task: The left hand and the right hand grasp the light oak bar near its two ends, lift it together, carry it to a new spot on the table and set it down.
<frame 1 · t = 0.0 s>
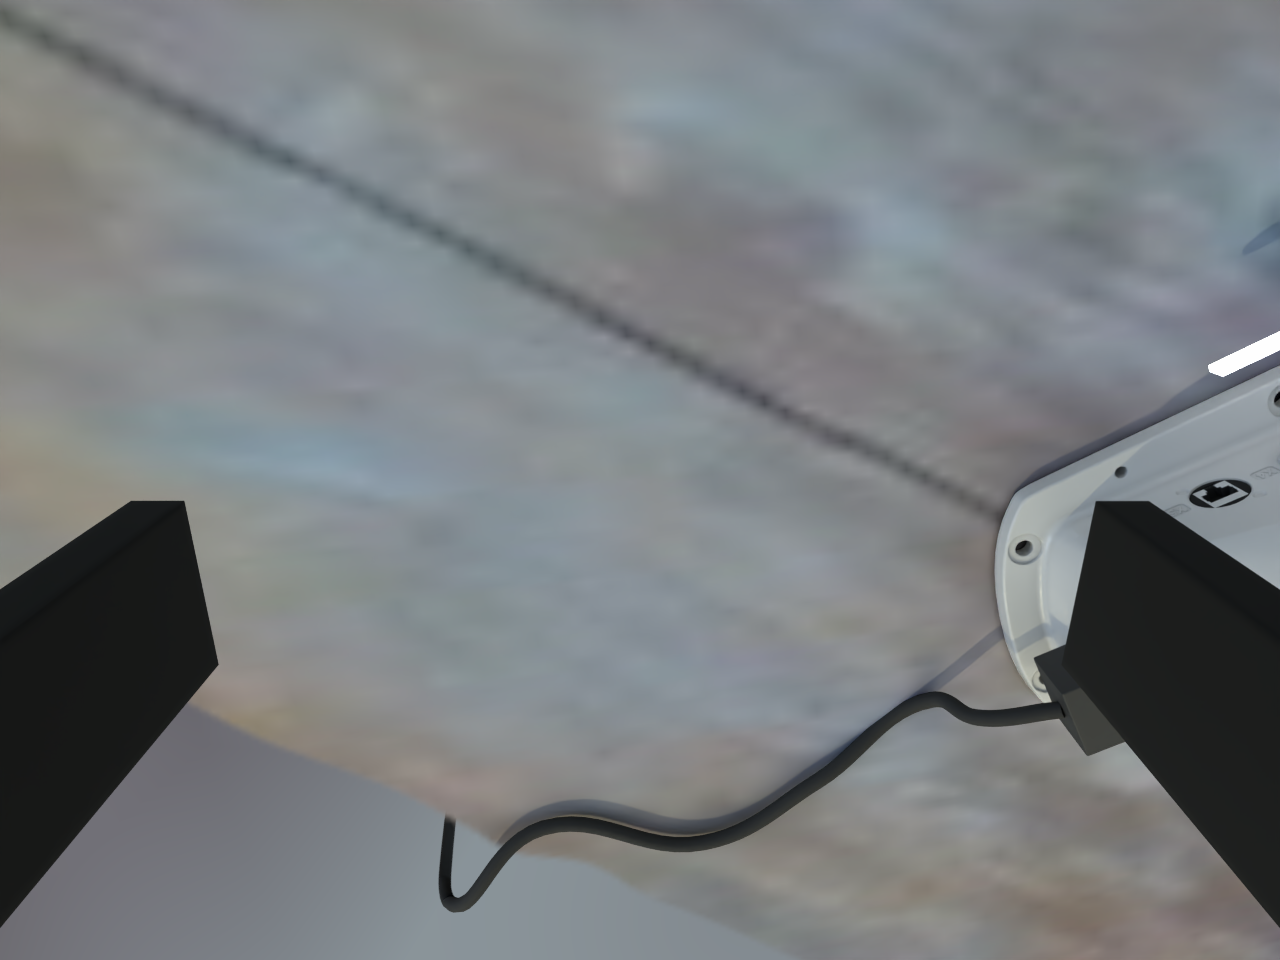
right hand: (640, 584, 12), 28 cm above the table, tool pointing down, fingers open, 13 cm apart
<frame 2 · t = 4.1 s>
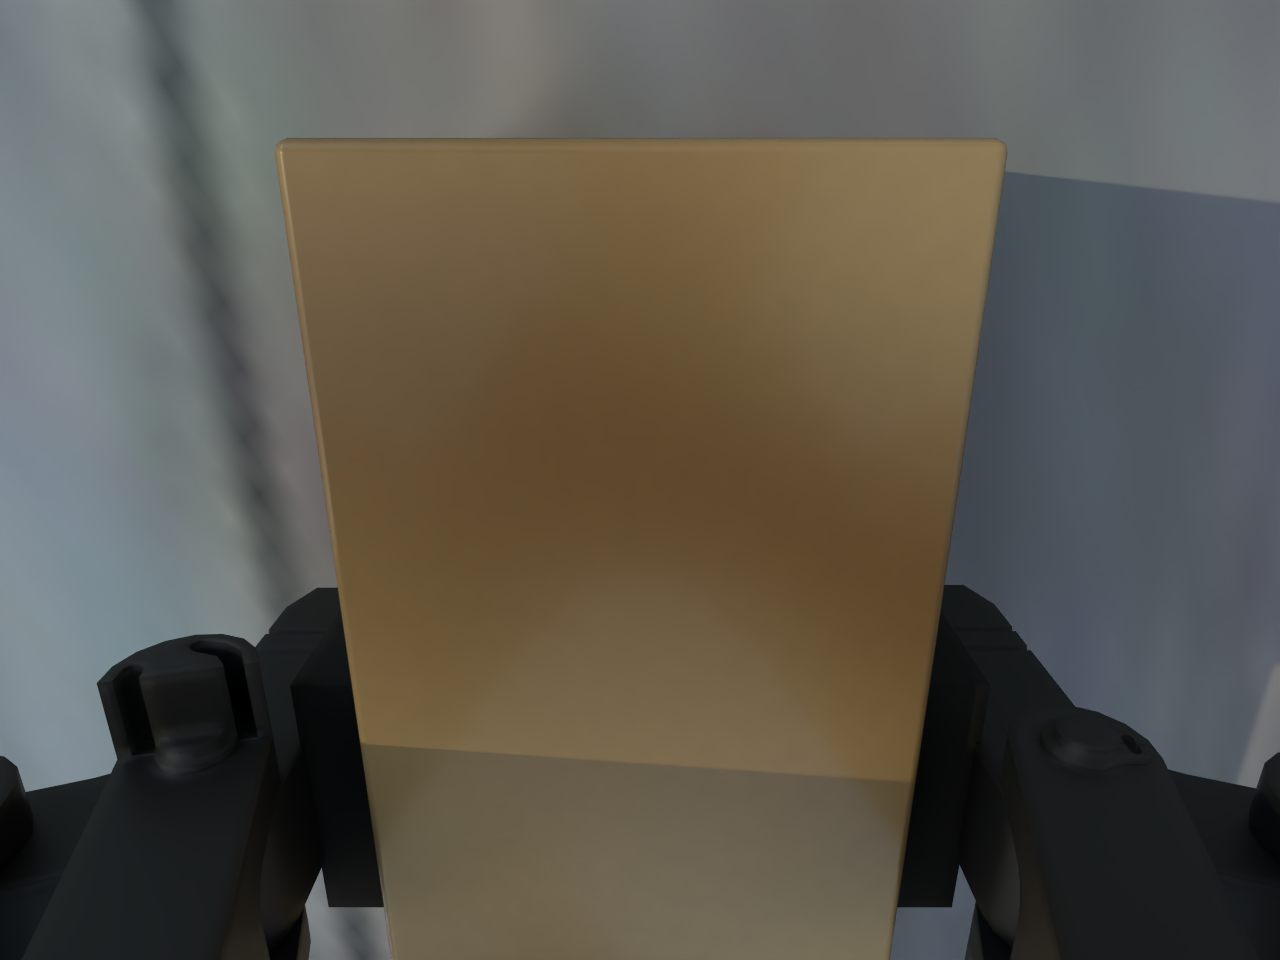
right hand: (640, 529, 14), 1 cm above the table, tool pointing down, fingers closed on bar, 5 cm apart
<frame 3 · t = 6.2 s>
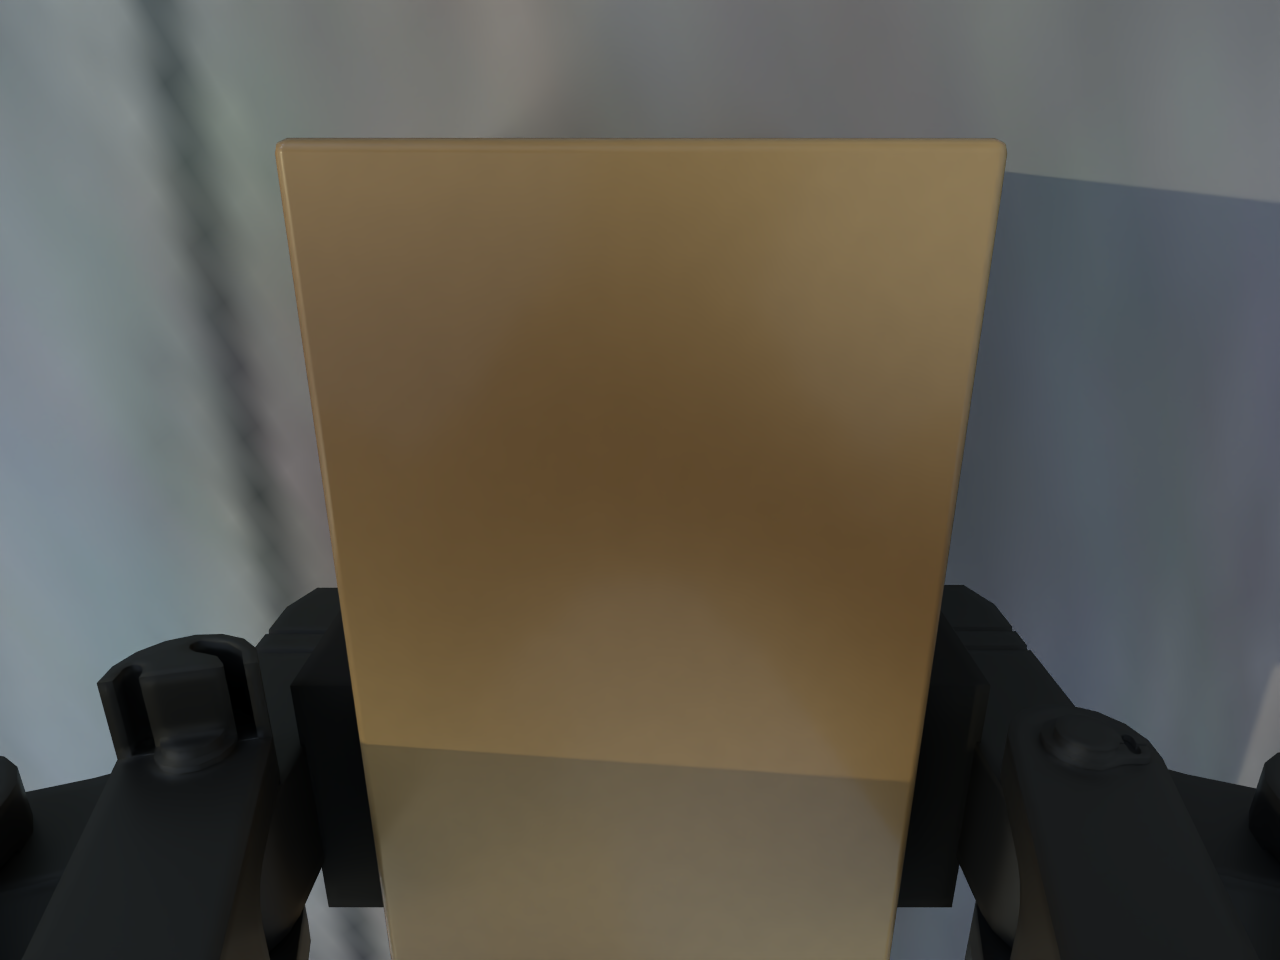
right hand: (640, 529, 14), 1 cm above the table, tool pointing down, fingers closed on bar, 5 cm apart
when the right hand's fingers open (2 cm above the table, at t = 11.5 s): bar stays where it is, held by the left hand.
when the left hand's fingers open (4 cm above the table, at t = 11.8 s): bar stays where it is, on the table.
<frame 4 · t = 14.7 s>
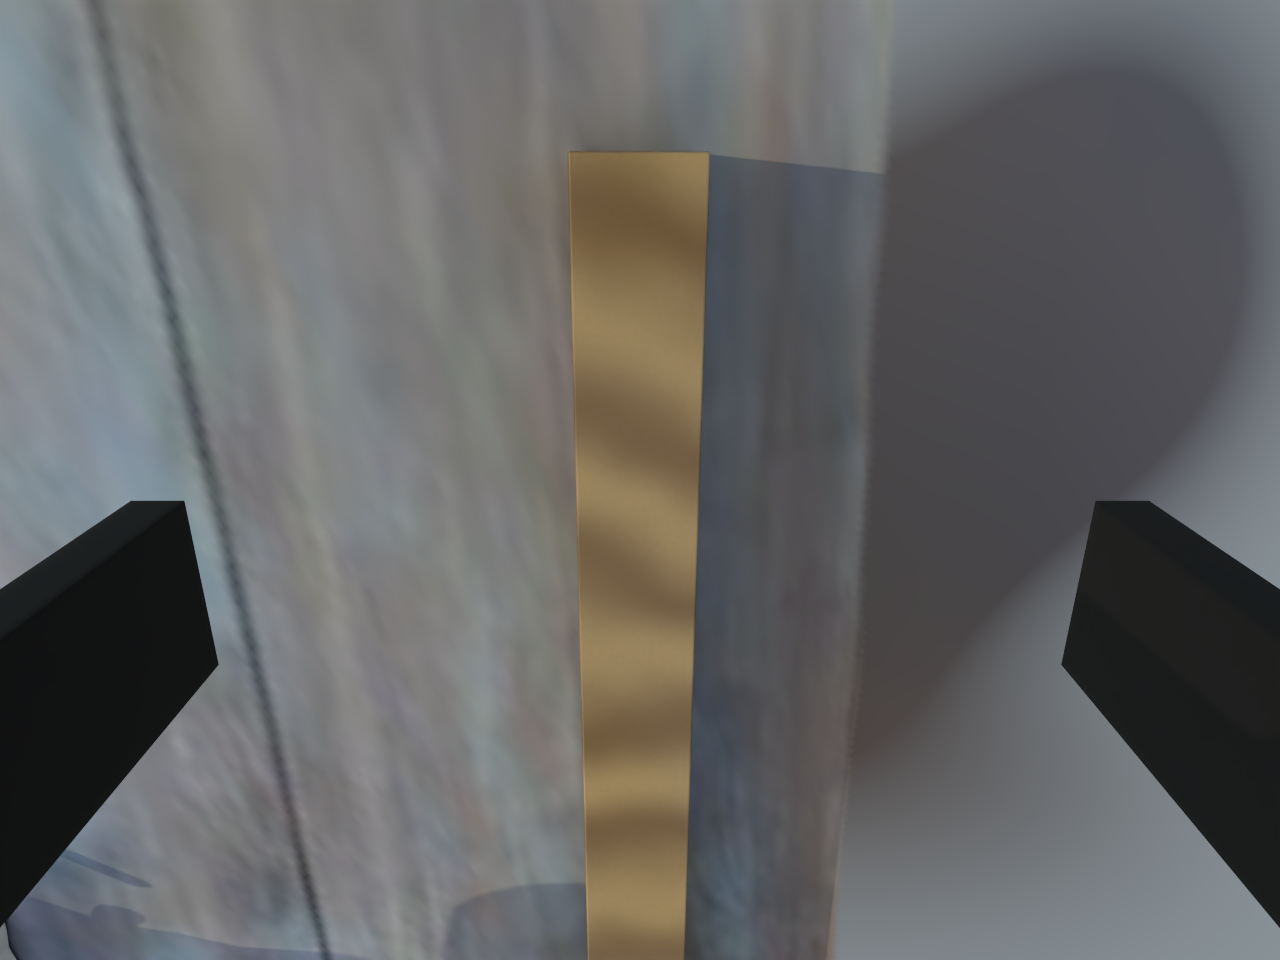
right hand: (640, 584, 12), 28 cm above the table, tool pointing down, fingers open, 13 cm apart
bar: (636, 841, 50), on the table
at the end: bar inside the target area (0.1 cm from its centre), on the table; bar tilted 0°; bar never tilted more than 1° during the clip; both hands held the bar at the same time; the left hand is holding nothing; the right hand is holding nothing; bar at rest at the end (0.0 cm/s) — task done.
